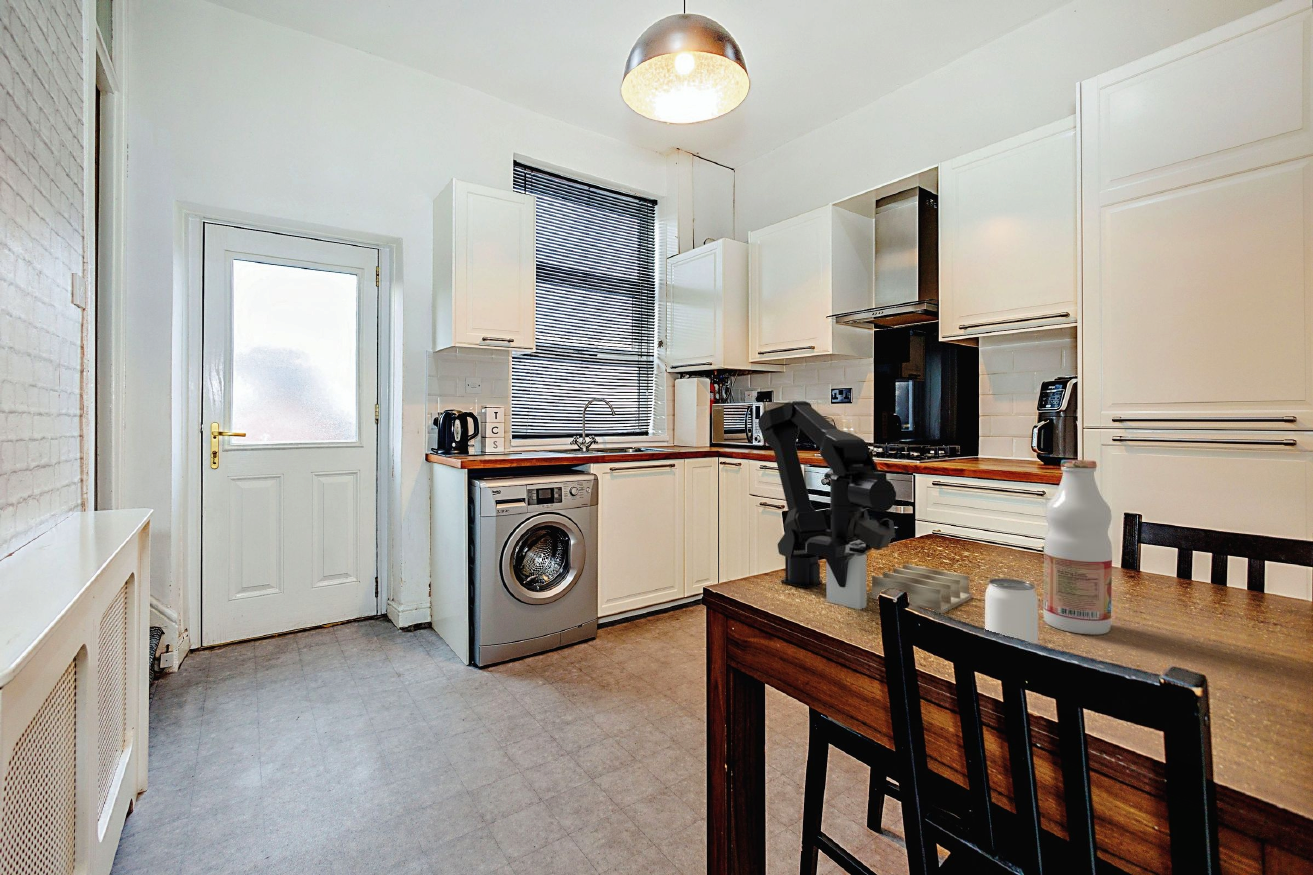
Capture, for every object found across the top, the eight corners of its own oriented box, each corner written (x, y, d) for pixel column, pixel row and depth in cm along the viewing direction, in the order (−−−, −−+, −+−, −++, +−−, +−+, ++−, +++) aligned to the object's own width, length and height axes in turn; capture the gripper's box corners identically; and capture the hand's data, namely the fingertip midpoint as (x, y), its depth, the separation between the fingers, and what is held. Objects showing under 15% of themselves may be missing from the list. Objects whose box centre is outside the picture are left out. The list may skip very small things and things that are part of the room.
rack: (868, 597, 118) (868, 575, 118) (902, 583, 128) (902, 563, 128) (941, 614, 108) (941, 590, 108) (972, 597, 118) (972, 575, 118)
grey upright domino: (826, 601, 116) (826, 550, 116) (833, 598, 118) (833, 548, 118) (859, 609, 111) (859, 556, 111) (866, 606, 113) (866, 553, 112)
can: (1045, 678, 82) (1046, 591, 81) (993, 674, 83) (994, 588, 83) (1026, 659, 88) (1027, 578, 88) (978, 656, 89) (979, 576, 89)
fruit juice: (1030, 617, 106) (1032, 458, 105) (1082, 615, 107) (1084, 458, 105) (1069, 636, 97) (1071, 463, 96) (1125, 635, 97) (1128, 462, 96)
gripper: (860, 514, 102) (860, 606, 102) (910, 503, 114) (910, 584, 115) (803, 507, 110) (804, 592, 110) (856, 497, 122) (856, 573, 123)
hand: (846, 585), depth 114 cm, fingers closed on grey upright domino, 2 cm apart
